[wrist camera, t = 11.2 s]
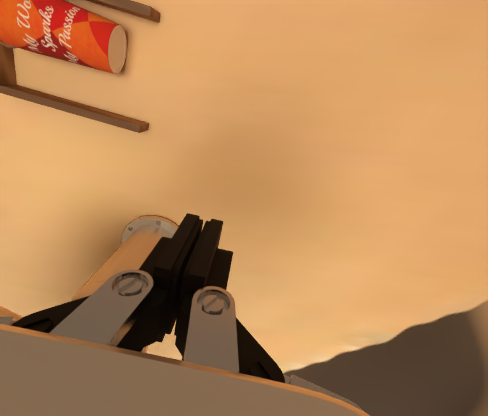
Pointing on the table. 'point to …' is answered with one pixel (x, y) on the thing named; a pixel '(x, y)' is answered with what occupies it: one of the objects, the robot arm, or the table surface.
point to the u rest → (4, 81)
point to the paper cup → (63, 33)
